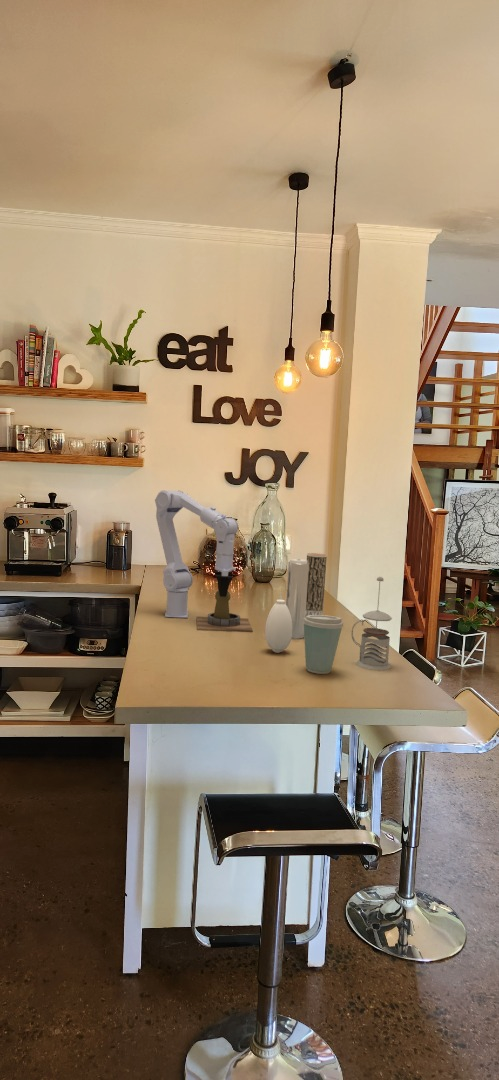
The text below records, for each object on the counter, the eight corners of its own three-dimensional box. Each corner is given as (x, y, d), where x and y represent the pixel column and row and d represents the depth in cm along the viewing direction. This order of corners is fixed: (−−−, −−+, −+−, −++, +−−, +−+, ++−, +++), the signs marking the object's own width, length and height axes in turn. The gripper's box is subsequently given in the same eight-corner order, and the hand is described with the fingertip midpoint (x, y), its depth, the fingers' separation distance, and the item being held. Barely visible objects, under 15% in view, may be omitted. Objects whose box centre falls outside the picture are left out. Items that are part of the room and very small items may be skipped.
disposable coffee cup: (293, 666, 186) (296, 611, 184) (328, 664, 190) (332, 611, 188) (310, 677, 176) (314, 620, 174) (347, 675, 180) (351, 619, 178)
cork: (209, 621, 231) (210, 589, 230) (224, 620, 235) (226, 589, 234) (217, 625, 226) (219, 592, 225) (233, 624, 230) (235, 592, 229)
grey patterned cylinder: (299, 623, 240) (304, 552, 238) (317, 623, 242) (322, 553, 240) (306, 628, 234) (311, 555, 231) (324, 627, 236) (330, 555, 233)
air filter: (304, 639, 217) (309, 561, 215) (284, 638, 217) (289, 560, 215) (303, 634, 223) (308, 558, 221) (283, 633, 224) (288, 557, 221)
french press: (391, 671, 186) (398, 580, 184) (348, 666, 188) (355, 576, 186) (391, 662, 196) (398, 575, 193) (350, 657, 198) (356, 572, 196)
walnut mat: (196, 618, 239) (196, 616, 239) (247, 620, 241) (247, 618, 241) (197, 630, 221) (197, 628, 221) (252, 632, 223) (252, 630, 223)
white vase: (295, 654, 198) (299, 593, 196) (270, 656, 195) (274, 593, 193) (284, 648, 205) (287, 588, 203) (259, 649, 202) (263, 588, 200)
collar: (207, 619, 236) (207, 611, 236) (238, 620, 237) (238, 613, 237) (208, 626, 225) (208, 618, 225) (240, 627, 226) (241, 619, 226)
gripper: (238, 557, 222) (235, 598, 223) (235, 552, 236) (232, 591, 238) (216, 556, 221) (214, 597, 222) (214, 551, 236) (212, 590, 237)
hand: (222, 594), depth 230 cm, fingers open, 7 cm apart
